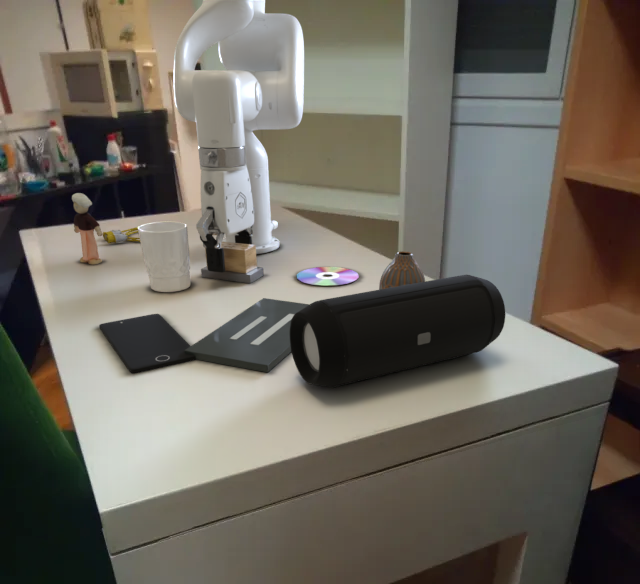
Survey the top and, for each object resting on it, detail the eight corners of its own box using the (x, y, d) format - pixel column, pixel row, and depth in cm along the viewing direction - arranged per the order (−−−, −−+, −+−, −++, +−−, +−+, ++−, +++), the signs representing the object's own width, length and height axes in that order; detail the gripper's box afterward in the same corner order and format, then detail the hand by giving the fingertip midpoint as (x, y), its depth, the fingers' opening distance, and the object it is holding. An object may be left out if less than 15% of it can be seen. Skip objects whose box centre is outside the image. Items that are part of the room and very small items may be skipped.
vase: (427, 305, 93) (432, 249, 88) (418, 321, 87) (423, 261, 82) (384, 301, 94) (386, 245, 90) (373, 316, 89) (375, 257, 84)
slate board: (263, 303, 94) (263, 297, 93) (334, 313, 90) (334, 307, 89) (185, 357, 77) (184, 349, 76) (267, 372, 72) (267, 364, 72)
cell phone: (131, 377, 73) (130, 370, 72) (99, 330, 86) (98, 323, 86) (200, 361, 76) (199, 354, 76) (159, 318, 90) (158, 312, 89)
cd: (372, 277, 105) (372, 276, 105) (323, 290, 99) (323, 289, 99) (331, 263, 113) (331, 263, 113) (283, 274, 107) (283, 274, 107)
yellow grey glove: (105, 233, 136) (104, 224, 135) (175, 229, 139) (174, 220, 138) (101, 246, 125) (99, 236, 124) (177, 241, 129) (176, 232, 128)
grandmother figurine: (70, 262, 115) (54, 193, 108) (84, 257, 118) (69, 190, 111) (102, 266, 112) (88, 196, 106) (115, 261, 115) (102, 192, 109)
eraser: (201, 277, 106) (198, 246, 103) (216, 269, 110) (213, 239, 107) (250, 283, 103) (248, 251, 100) (263, 275, 107) (262, 244, 104)
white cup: (183, 295, 98) (175, 233, 93) (139, 292, 99) (128, 231, 94) (201, 280, 104) (194, 222, 99) (159, 278, 106) (150, 220, 101)
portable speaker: (324, 407, 65) (324, 320, 60) (287, 372, 73) (284, 293, 67) (503, 361, 75) (516, 283, 70) (454, 334, 82) (462, 263, 77)
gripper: (214, 165, 88) (224, 279, 97) (267, 154, 102) (272, 255, 110) (172, 163, 91) (185, 274, 99) (229, 153, 105) (237, 251, 113)
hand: (231, 264), depth 105 cm, fingers open, 9 cm apart
